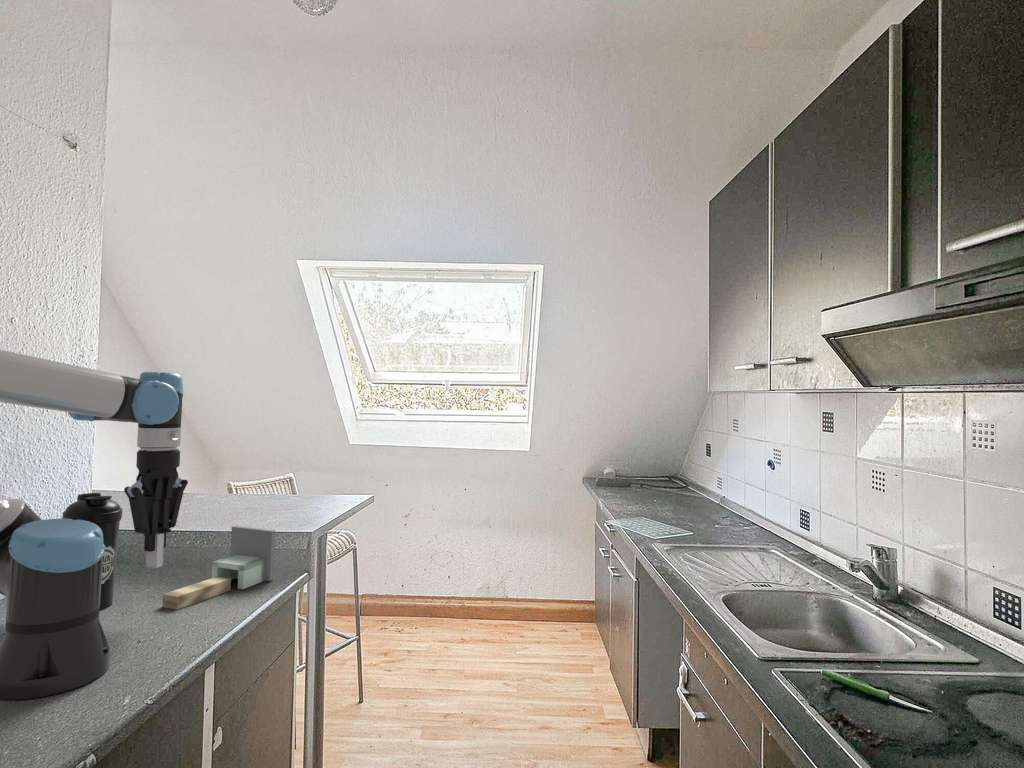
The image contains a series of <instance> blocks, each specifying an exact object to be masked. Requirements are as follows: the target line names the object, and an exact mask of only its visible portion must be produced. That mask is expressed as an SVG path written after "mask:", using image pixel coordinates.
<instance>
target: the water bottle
mask: <svg viewBox="0 0 1024 768" xmlns="http://www.w3.org/2000/svg"><path fill="white" fill-rule="evenodd" d="M76 498H77V500H76V501H75V502H73V503H70V505H68V506H67V507H66V509H65V510H64V511H63V512H62V514H61V515H62V518H61V519H72V520H85V521H89V522H91V523H94V524H96V525H97V526H99V527H100V528H101V530H102V532H103V544H104V554H103V564H102V580H101V595H100V611H102V610H105V609H107V608H109V607H111V606H112V605H113V602H114V601H113V600H114V590H115V580H116V579H115V578H116V568H117V555H118V545H119V536H120V535H119V534H120V524H121V523H120V522H121V521H122V517H123V508H122V507H121V506H120V504H119V503H118V502H116V501H115V500H113V499H112V498H113V496H112V495H102V494H101V492H90V493H88V492H87V493H80V494H79V493H78V495H77V497H76Z"/></svg>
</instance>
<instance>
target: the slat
mask: <svg viewBox="0 0 1024 768" xmlns="http://www.w3.org/2000/svg"><path fill="white" fill-rule="evenodd" d="M231 585H232V580H231V579H230V578H224V577H219V576H217V577H214V578H212V577H211V578H209V579H206V580H202V581H199V582H196V583H193V584H190V585H187V586H184V587H181V588H177V589H174V590H172V591H168V592H166V593H163V594H162V608H166V609H171V610H180V609H183V608H186V607H188V606H191V605H195V604H196V603H199V602H202V601H204V600H207V599H210V598H213V597H215V596H218V595H221V594H224V593H226V592H227V593H228V592H230V591H231V589H232V588H231Z"/></svg>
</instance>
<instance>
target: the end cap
mask: <svg viewBox="0 0 1024 768" xmlns="http://www.w3.org/2000/svg"><path fill="white" fill-rule="evenodd" d="M230 531H231V533H230V534H231V535H230V552H229V553H230V555H228V556H225V557H223V558H219V559H217V560H216V559H215V560H213V561H212V566H211V567H212V568H211V578H214V577H217V576H219V577H224V578H230V579H231V581H232V580H235V579H237V589H239V590H244V589H247V588H249V587H253V586H254V585H257V584H260V583H262V582H272V581H273V580H274V571H275V567H274V566H275V546H276V544H275V543H276V530H274V529H267V528H266V529H265V528H258V527H257V528H256V527H250V526H249V527H248V526H247V527H246V526H239V525H233V526H231V530H230Z"/></svg>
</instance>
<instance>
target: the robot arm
mask: <svg viewBox="0 0 1024 768" xmlns="http://www.w3.org/2000/svg"><path fill="white" fill-rule="evenodd" d="M183 386H184V384H183V377H182V375H181V374H179V373H177V372H161V371H160V372H159V371H158V372H156V371H143V372H141V373H140V375H139V378H135V377H130V376H125V375H119V374H116V373H112V372H107V371H102V370H98V369H92V368H88V367H83V366H79V365H73V364H70V363H69V364H68V363H65V362H61V361H55V360H50V359H47V358H42V357H37V356H33V355H27V354H23V353H17V352H14V351H9V350H3V349H0V403H4V404H12V405H18V406H24V407H32V408H38V409H46V410H52V411H58V412H64V413H67V414H68V415H69V417H70V418H72V419H73V420H75V421H84V422H85V421H88V422H93V421H108V422H109V421H110V422H122V423H135V424H137V439H136V447H138V448H140V449H138V451H137V452H136V468H137V470H138V474H137V475H136V478H135V479H136V480H135V482H134V483H133V484H132V485H131V486H125V487H124V493H125V494H126V496H127V498H128V500H129V507H130V512H131V519H132V524H133V528H134V532H135V533H136V534H141V535H143V536H144V540H143V541H144V545H143V549H144V552H146V553H145V554H146V555H145V567H147V568H152V569H153V568H154V569H155V568H156V569H157V568H161V567H163V566H164V549H165V548H166V545H167V534H170V532H171V531H172V529H171V528H175V527H176V525H177V522H178V516H179V512H180V507H181V504H182V499H183V496H184V491H185V490H186V487H187V485H188V484H189V482H188V479H182V478H181V477H180V476H179V473H178V470H177V468H179V467H180V466H181V450H180V449H178V448H179V447H180V446H181V437H182V435H181V433H182V413H183V397H184V390H183V389H184V388H183ZM103 554H104V544H103V532H102V530H101V528H100V527H99V526H97V525H96V524H94V523H91V522H89V521H85V520H72V519H62V518H49V519H48V518H47V519H42V517H40V516H39V515H38V514H37V513H36V512H35V511H34V510H33V509H31V507H29V505H27V504H26V503H25V502H24V501H23V500H22V499H21V498H20V499H19V498H4V497H3V496H2V495H1V494H0V595H3V596H4V597H6V611H5V629H4V635H3V638H2V640H1V642H0V699H1V700H28V699H35V698H43V697H47V696H53V695H56V694H61V693H64V692H67V691H71V690H74V689H77V688H79V687H82V686H84V685H86V684H89V683H91V682H93V681H95V680H97V679H98V678H100V677H102V675H104V674H105V673H106V672H107V671H108V670H109V668H110V666H111V665H110V664H111V663H110V661H111V650H110V647H109V645H108V641H107V637H106V636H105V632H104V629H103V627H102V622H101V621H100V611H101V610H100V595H101V580H102V564H103Z"/></svg>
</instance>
